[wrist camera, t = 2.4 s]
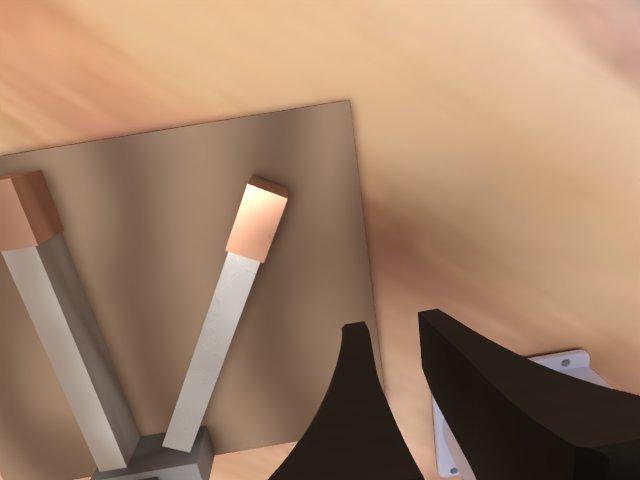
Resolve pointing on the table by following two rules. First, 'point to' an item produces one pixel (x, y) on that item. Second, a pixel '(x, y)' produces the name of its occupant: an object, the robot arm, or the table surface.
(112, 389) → the tongs board
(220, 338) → the tong arm
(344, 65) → the table surface
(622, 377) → the table surface
